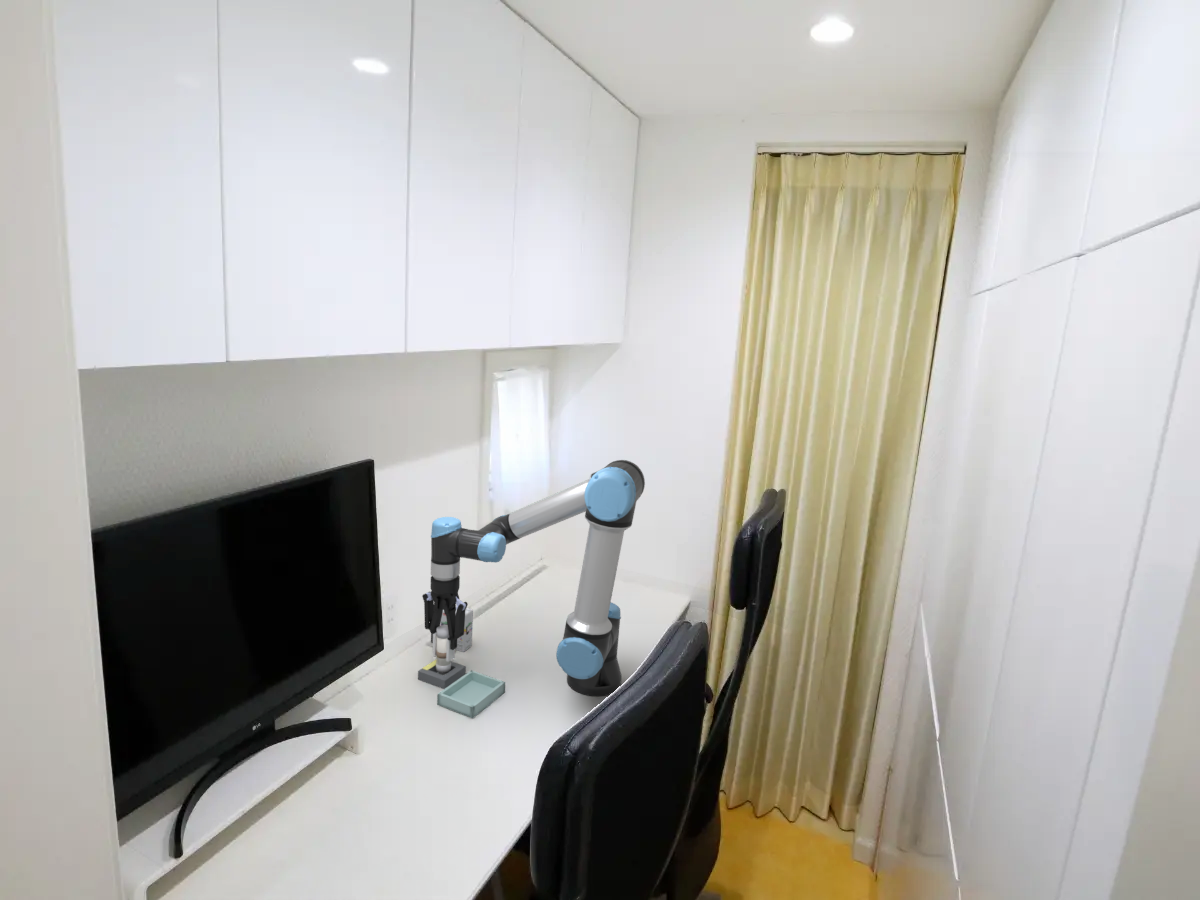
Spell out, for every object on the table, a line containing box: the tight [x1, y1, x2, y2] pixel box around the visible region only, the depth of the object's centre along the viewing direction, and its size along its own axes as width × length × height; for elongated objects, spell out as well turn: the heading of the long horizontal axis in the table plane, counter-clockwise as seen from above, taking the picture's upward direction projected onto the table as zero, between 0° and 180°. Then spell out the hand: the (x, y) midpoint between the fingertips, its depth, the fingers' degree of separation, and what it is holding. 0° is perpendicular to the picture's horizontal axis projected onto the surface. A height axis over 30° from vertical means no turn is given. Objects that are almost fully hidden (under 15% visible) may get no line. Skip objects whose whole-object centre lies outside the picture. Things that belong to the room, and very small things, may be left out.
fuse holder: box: [417, 659, 467, 690], centre depth 180 cm, size 9×9×3 cm
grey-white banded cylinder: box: [435, 625, 452, 674], centre depth 179 cm, size 4×4×12 cm
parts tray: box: [436, 669, 506, 719], centre depth 171 cm, size 11×14×3 cm
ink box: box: [440, 604, 474, 653], centre depth 197 cm, size 8×5×12 cm, turn 71°
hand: (443, 656), depth 179 cm, fingers closed on grey-white banded cylinder, 4 cm apart
